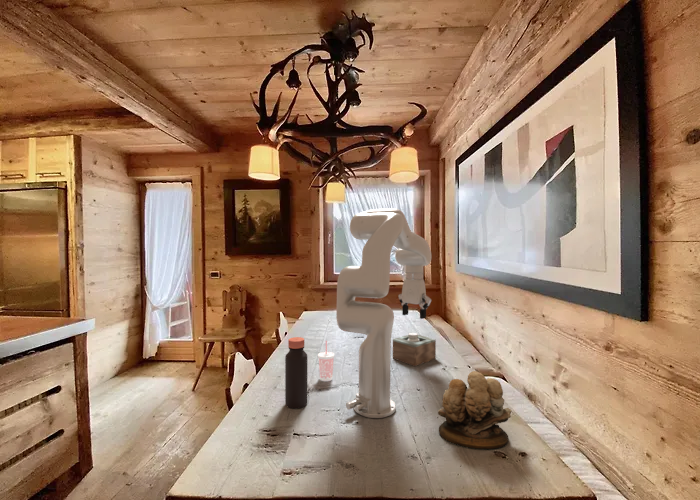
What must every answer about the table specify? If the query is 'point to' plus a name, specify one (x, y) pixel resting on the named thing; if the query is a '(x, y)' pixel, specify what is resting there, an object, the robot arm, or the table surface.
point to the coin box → (414, 350)
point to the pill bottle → (413, 337)
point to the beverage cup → (326, 365)
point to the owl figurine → (474, 413)
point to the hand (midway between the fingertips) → (413, 316)
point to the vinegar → (296, 374)
